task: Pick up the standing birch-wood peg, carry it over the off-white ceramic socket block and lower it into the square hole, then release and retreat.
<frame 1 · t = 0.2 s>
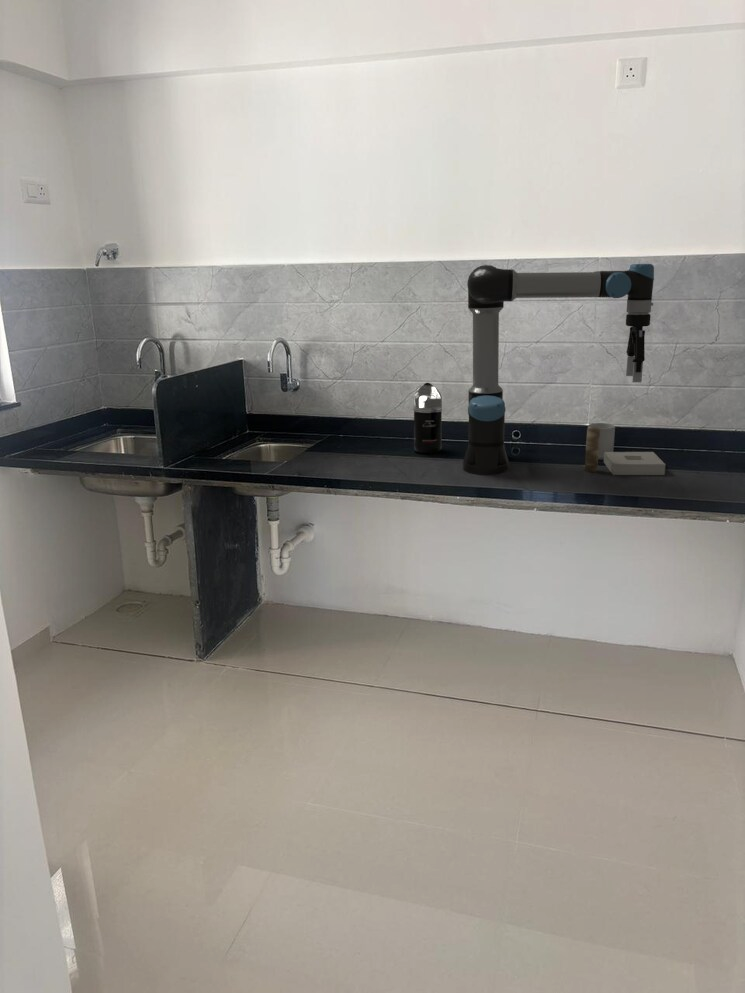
hand: (633, 379, 259), 27 cm above the worktop, fingers open, 13 cm apart
black silver bottle: (427, 451, 285), on the worktop
peg: (590, 470, 255), on the worktop
mug: (599, 456, 272), on the worktop
socket block: (633, 468, 256), on the worktop
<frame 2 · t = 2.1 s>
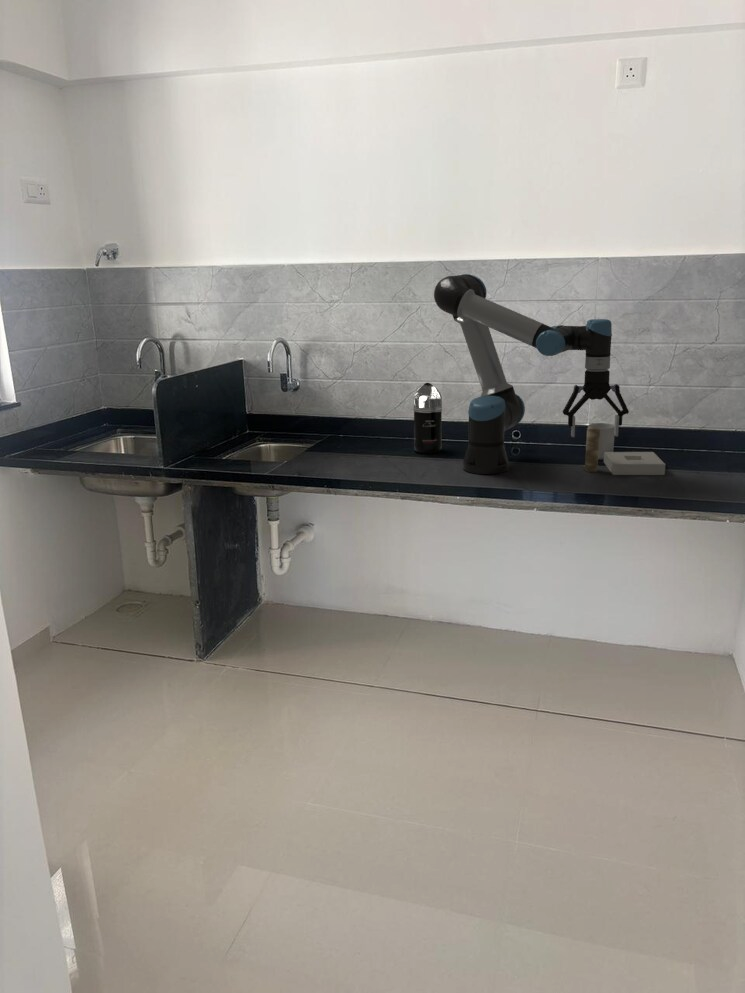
hand: (594, 436, 251), 12 cm above the worktop, fingers open, 13 cm apart
nothing on the worktop moved.
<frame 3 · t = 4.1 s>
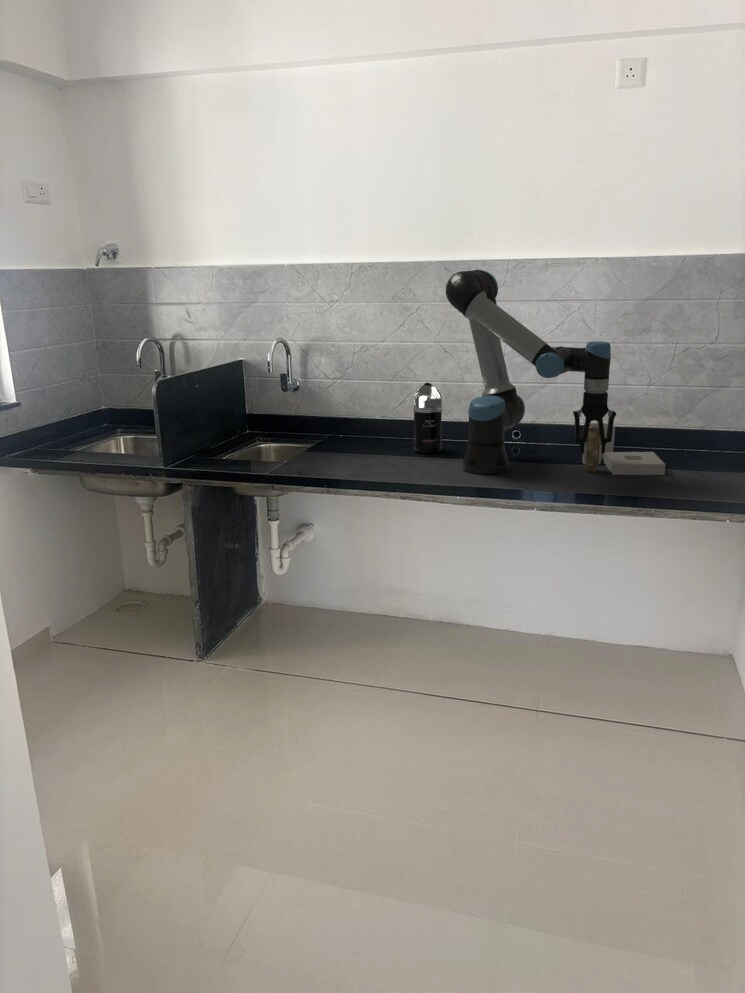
hand: (591, 462, 254), 3 cm above the worktop, fingers closed on peg, 4 cm apart
peg: (590, 470, 255), on the worktop, touching gripper
everything else where it was.
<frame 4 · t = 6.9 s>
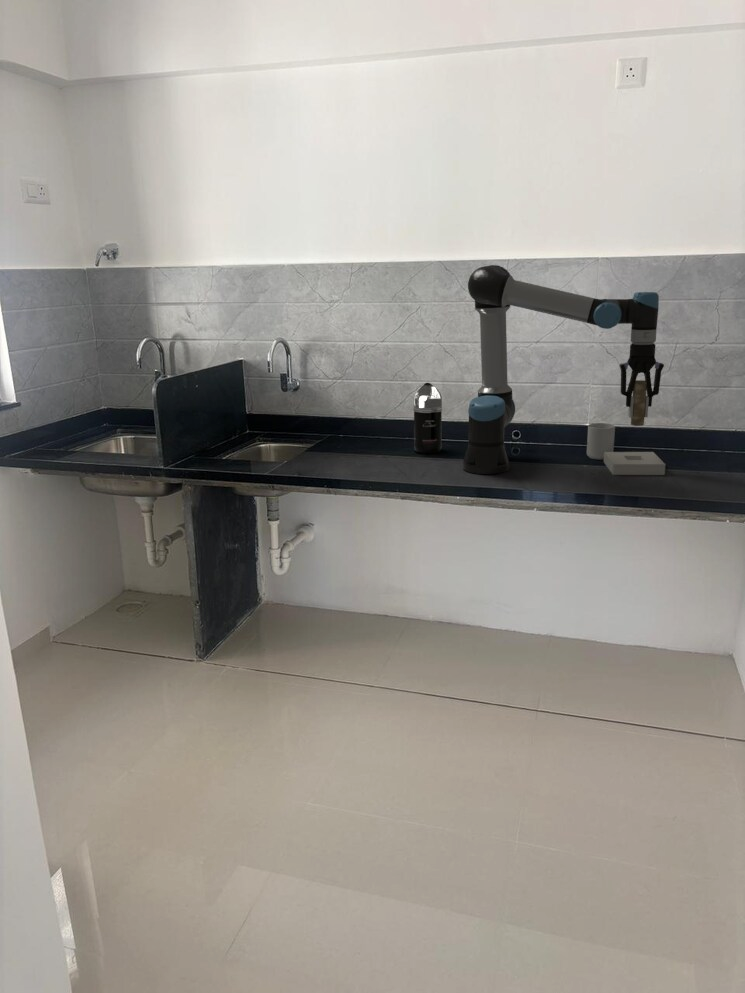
hand: (637, 416, 251), 17 cm above the worktop, fingers closed on peg, 4 cm apart
peg: (637, 424, 252), point 15 cm above the worktop, touching gripper
everything else where it was.
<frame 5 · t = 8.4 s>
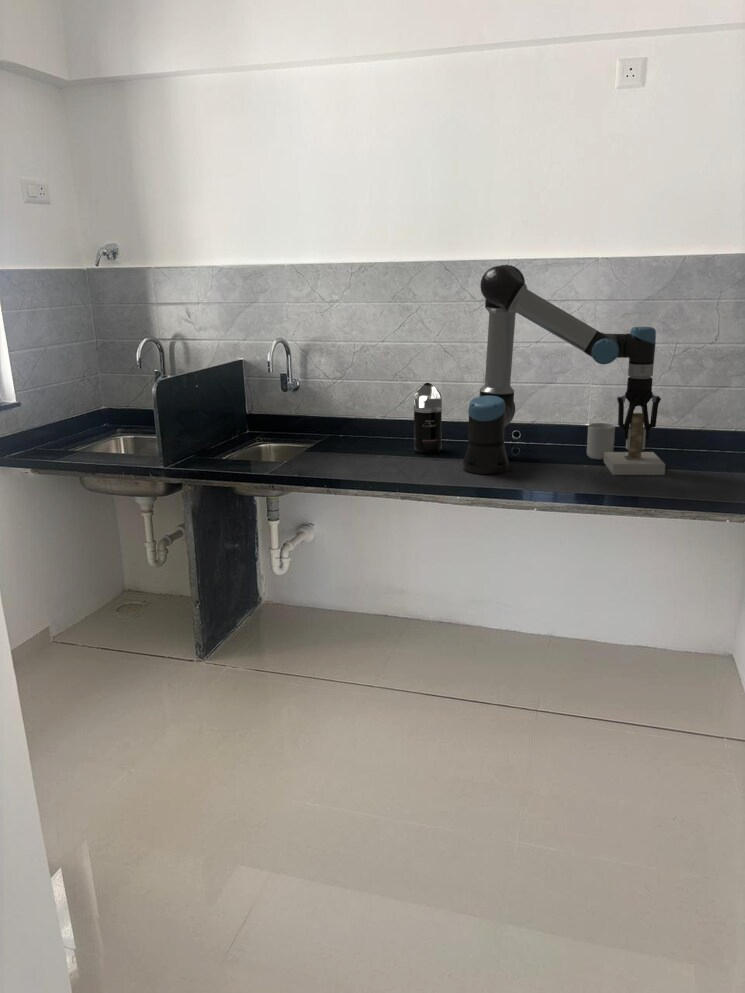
hand: (635, 448, 254), 7 cm above the worktop, fingers closed on peg, 4 cm apart
peg: (634, 456, 255), point 4 cm above the worktop, touching gripper
everything else where it was.
when the fingers open (4 cm above the worktop, at t = 9.8 s): peg drops 1 cm, resting in socket block.
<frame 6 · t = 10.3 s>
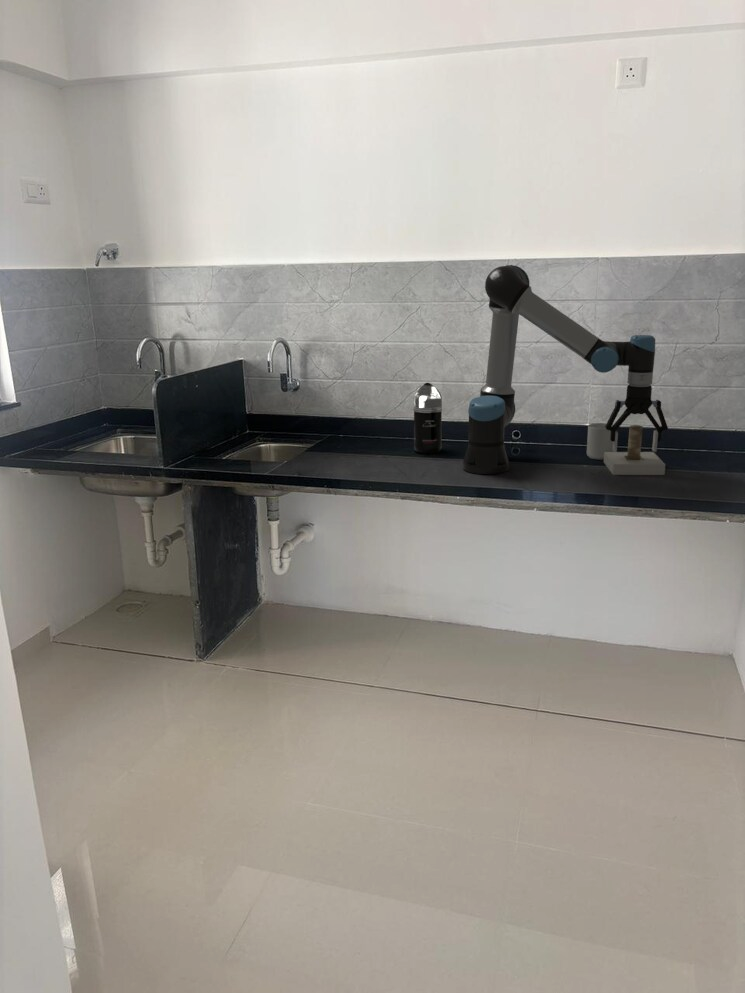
hand: (634, 451, 255), 6 cm above the worktop, fingers open, 12 cm apart
peg: (632, 468, 256), resting in socket block
everything else where it was.
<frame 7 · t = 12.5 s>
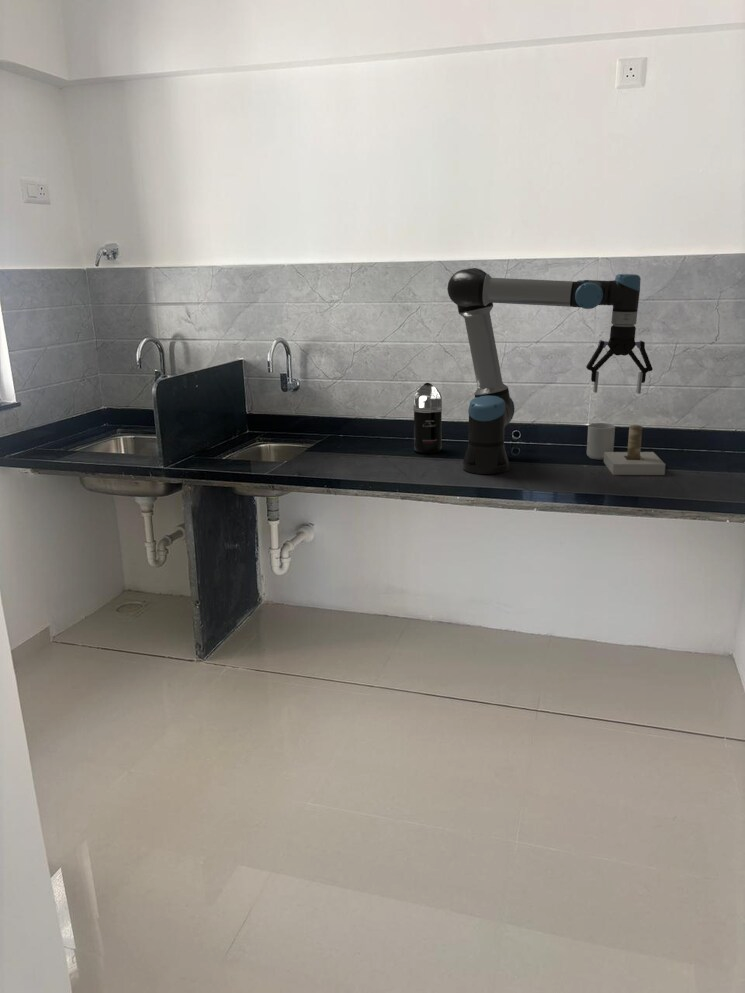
hand: (616, 392, 252), 25 cm above the worktop, fingers open, 13 cm apart
nothing on the worktop moved.
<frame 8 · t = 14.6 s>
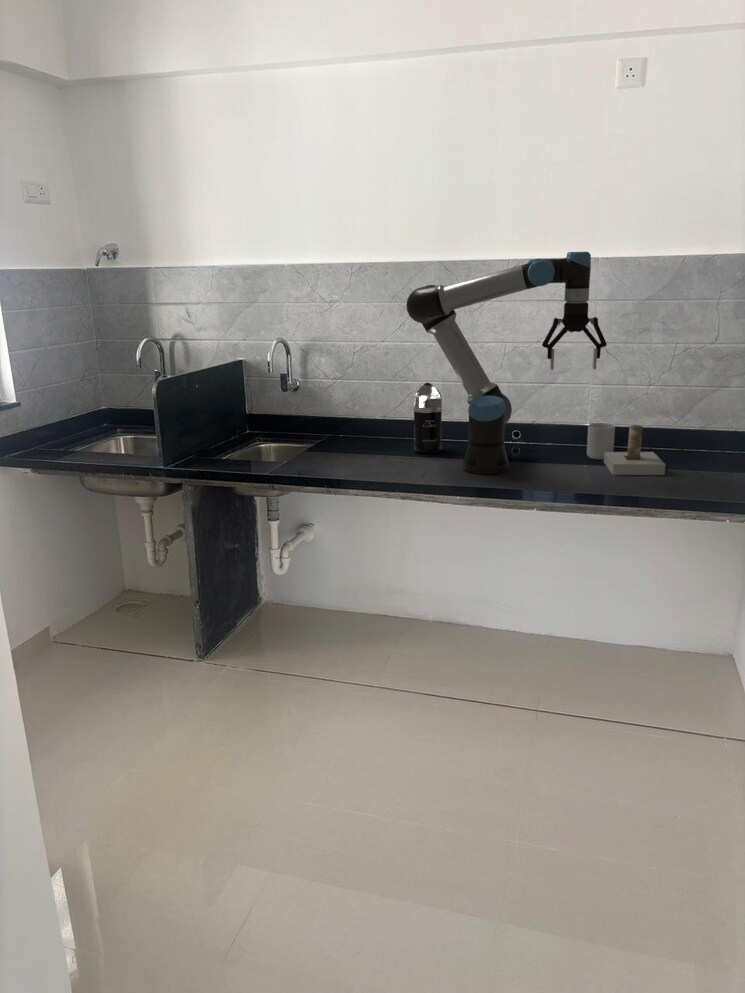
hand: (572, 368, 256), 32 cm above the worktop, fingers open, 13 cm apart
nothing on the worktop moved.
at the end: peg 0.1 cm off-centre on the socket block, point 0.0 cm above the socket block's base; peg tilted 0°; the gripper is holding nothing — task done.
